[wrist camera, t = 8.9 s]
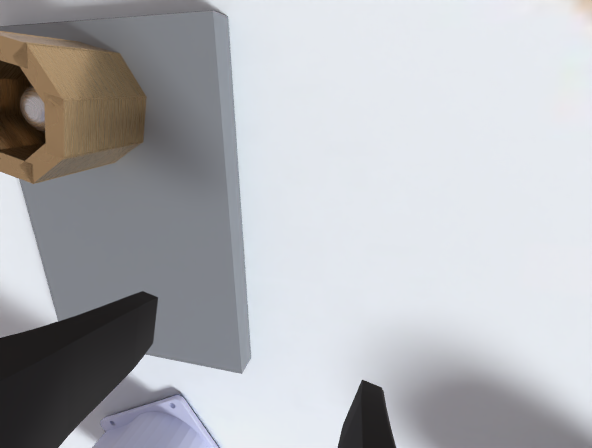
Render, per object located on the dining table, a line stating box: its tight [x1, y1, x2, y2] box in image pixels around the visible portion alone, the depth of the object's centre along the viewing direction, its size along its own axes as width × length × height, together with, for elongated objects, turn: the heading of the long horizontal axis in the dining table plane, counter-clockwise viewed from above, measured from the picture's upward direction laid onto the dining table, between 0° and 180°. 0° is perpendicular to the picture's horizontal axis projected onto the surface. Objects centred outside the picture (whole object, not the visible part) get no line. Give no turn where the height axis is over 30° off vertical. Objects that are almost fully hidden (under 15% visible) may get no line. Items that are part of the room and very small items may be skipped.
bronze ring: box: [0, 31, 147, 184], centre depth 17 cm, size 6×6×5 cm
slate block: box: [0, 10, 251, 374], centre depth 22 cm, size 20×14×2 cm
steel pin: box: [20, 86, 45, 132], centre depth 18 cm, size 2×2×4 cm
